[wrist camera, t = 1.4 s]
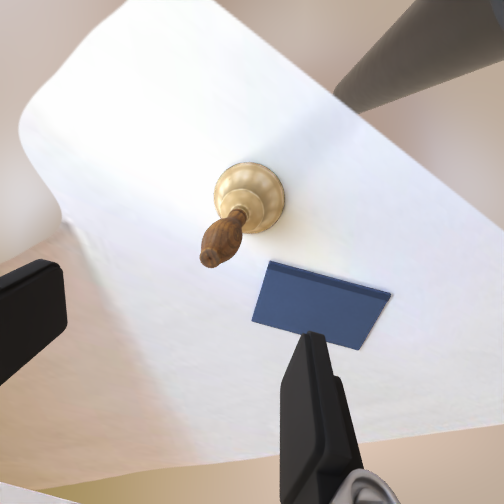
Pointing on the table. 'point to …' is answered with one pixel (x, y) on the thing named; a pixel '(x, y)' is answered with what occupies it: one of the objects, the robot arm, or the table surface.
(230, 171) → the hand bell
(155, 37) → the table surface
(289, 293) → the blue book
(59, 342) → the table surface
